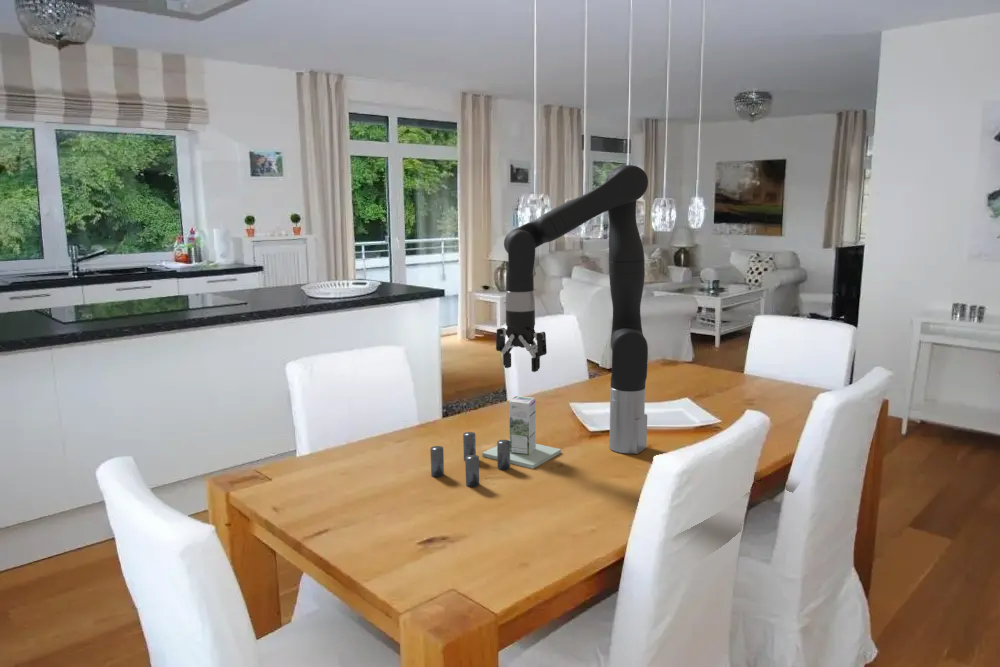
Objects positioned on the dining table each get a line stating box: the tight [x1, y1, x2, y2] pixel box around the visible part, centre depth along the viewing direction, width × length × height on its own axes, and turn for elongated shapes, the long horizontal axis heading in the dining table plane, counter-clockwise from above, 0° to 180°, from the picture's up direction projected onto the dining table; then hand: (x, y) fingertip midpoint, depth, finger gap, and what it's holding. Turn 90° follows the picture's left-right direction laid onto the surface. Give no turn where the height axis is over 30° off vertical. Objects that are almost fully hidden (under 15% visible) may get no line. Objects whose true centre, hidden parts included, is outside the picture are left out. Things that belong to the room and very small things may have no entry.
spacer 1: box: [429, 445, 445, 478], centre depth 174 cm, size 3×3×7 cm
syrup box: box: [508, 395, 537, 455], centre depth 186 cm, size 6×6×14 cm
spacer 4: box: [496, 439, 511, 471], centre depth 178 cm, size 3×3×7 cm
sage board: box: [481, 439, 562, 470], centre depth 188 cm, size 16×14×1 cm
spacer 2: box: [462, 431, 477, 461], centre depth 184 cm, size 3×3×7 cm
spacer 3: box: [464, 454, 480, 488], centre depth 168 cm, size 3×3×7 cm
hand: (521, 369), depth 184 cm, fingers open, 8 cm apart
